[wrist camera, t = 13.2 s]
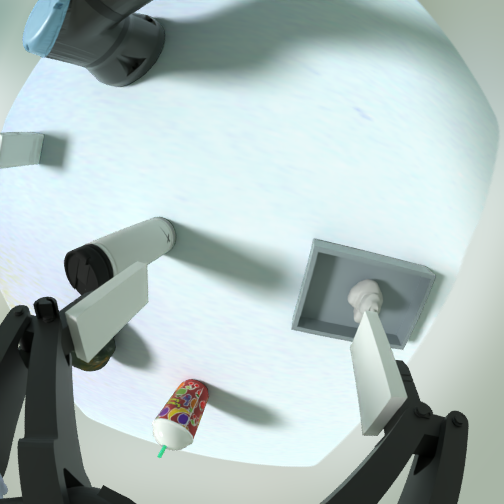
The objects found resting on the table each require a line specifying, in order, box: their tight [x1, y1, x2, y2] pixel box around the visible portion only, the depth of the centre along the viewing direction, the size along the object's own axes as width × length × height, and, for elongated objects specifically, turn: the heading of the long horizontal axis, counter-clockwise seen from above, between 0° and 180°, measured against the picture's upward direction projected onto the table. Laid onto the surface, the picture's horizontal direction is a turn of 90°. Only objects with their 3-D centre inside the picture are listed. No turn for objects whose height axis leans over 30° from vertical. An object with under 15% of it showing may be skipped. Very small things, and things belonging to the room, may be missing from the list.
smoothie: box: [152, 379, 209, 458], centre depth 44 cm, size 8×8×20 cm
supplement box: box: [0, 132, 44, 169], centre depth 39 cm, size 7×7×13 cm
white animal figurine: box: [348, 279, 383, 323], centre depth 36 cm, size 5×7×8 cm
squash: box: [70, 338, 115, 371], centre depth 49 cm, size 14×15×15 cm
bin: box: [292, 239, 436, 350], centre depth 38 cm, size 13×19×4 cm
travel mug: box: [64, 217, 176, 295], centre depth 35 cm, size 6×7×20 cm
